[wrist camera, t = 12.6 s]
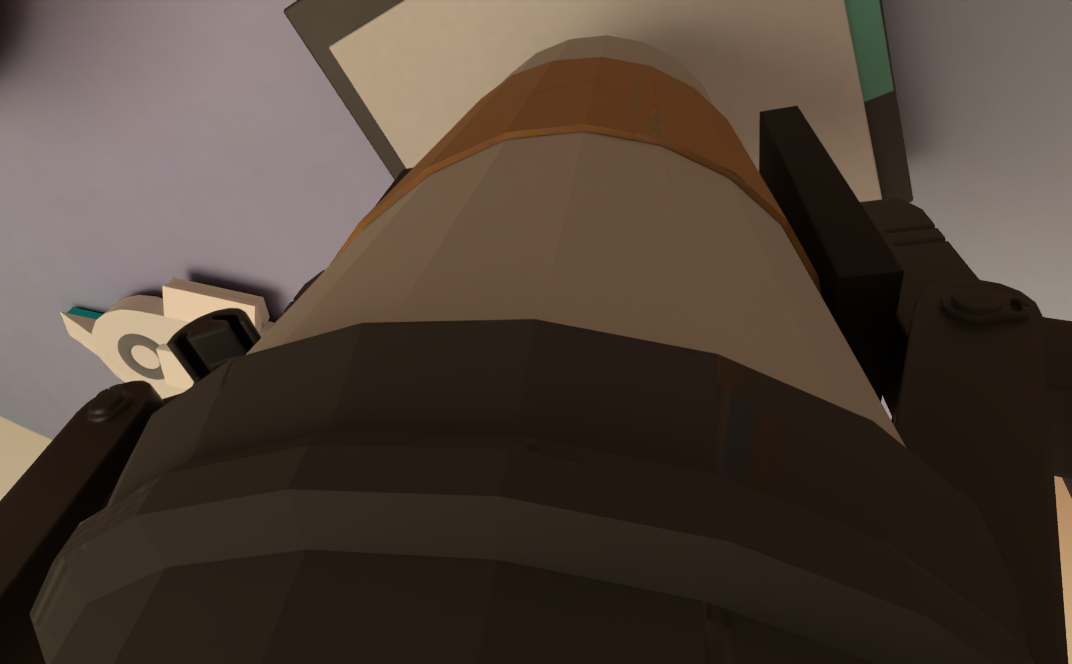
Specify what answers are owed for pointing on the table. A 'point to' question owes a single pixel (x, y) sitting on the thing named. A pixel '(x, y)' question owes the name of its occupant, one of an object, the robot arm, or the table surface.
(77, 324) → the toy rocket
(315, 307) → the coffee cup
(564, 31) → the scale
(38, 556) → the robot arm
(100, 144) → the table surface
